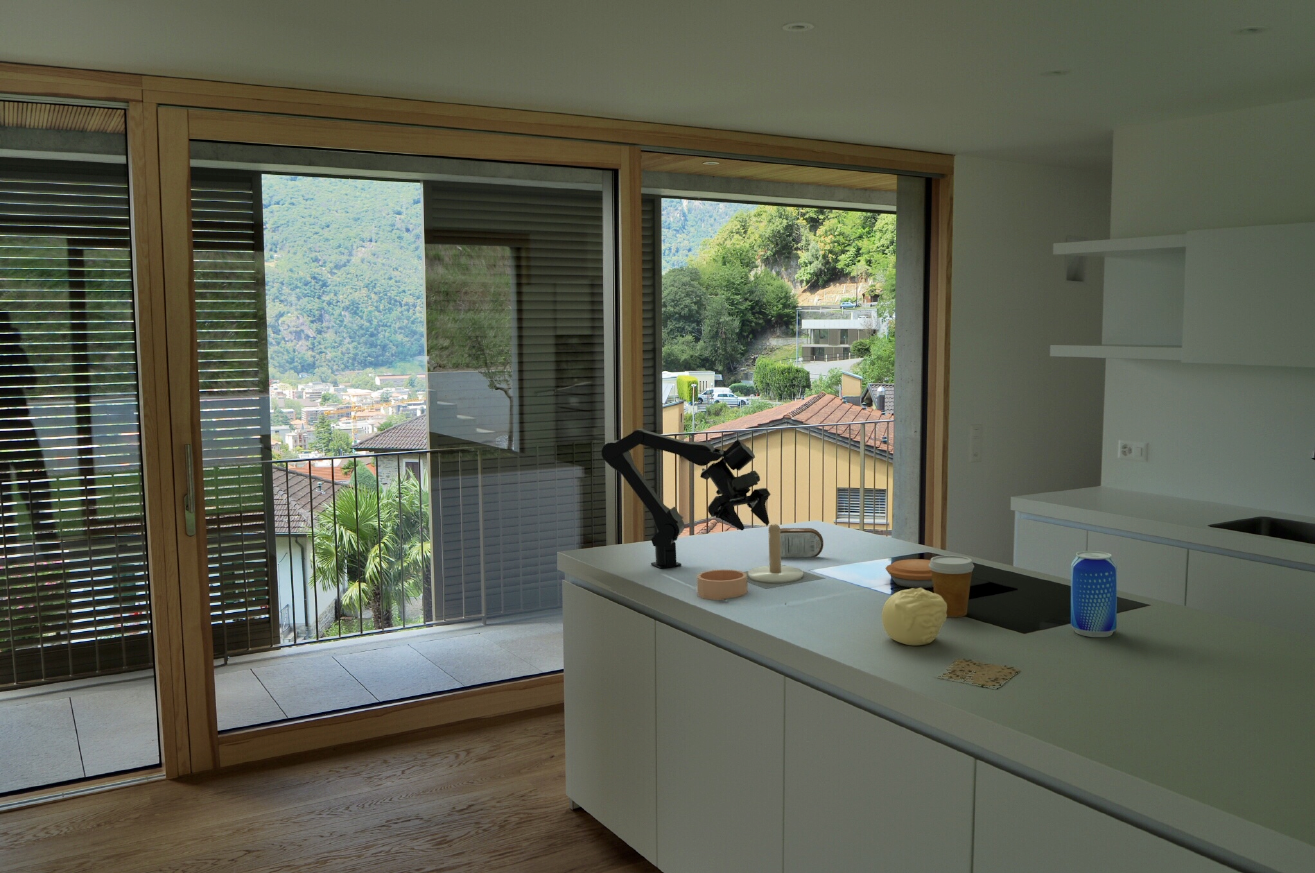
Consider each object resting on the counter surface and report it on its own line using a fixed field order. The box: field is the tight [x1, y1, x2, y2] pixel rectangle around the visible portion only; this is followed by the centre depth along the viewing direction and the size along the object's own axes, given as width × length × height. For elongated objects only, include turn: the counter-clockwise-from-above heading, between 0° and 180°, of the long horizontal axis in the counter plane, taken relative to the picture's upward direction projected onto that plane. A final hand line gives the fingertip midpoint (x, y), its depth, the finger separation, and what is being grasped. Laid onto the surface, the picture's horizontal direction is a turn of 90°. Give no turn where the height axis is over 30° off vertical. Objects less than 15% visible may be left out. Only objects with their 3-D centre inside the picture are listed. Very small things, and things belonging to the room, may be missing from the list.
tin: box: [780, 527, 824, 558], centre depth 275 cm, size 15×3×8 cm, turn 84°
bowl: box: [696, 569, 749, 601], centre depth 240 cm, size 12×12×4 cm
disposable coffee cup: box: [929, 554, 975, 618], centre depth 215 cm, size 10×10×12 cm
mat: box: [743, 564, 826, 590], centre depth 253 cm, size 18×18×1 cm
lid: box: [748, 523, 804, 583], centre depth 252 cm, size 14×14×14 cm
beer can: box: [1070, 550, 1118, 638], centre depth 198 cm, size 8×8×16 cm
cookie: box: [938, 658, 1021, 688], centre depth 177 cm, size 12×12×1 cm
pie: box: [885, 558, 933, 589], centre depth 244 cm, size 15×16×5 cm
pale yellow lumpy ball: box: [881, 588, 948, 646], centre depth 197 cm, size 11×12×11 cm
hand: (755, 526), depth 257 cm, fingers open, 9 cm apart
